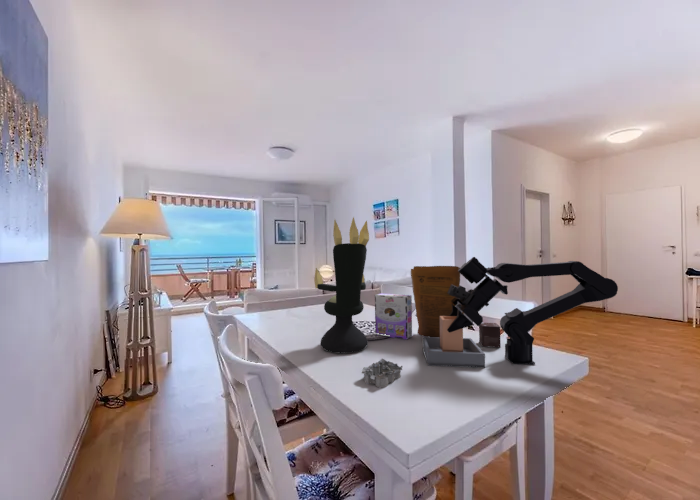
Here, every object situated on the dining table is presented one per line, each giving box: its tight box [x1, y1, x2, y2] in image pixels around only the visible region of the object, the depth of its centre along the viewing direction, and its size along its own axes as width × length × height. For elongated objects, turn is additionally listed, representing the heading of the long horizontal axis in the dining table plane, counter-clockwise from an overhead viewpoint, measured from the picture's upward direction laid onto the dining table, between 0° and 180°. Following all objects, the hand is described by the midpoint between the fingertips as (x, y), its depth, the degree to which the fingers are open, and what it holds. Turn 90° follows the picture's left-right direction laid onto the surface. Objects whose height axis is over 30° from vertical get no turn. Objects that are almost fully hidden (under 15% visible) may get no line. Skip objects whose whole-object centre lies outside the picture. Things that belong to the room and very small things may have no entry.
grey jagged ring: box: [361, 358, 403, 388], centre depth 83 cm, size 11×8×4 cm
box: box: [478, 322, 501, 348], centre depth 112 cm, size 6×6×7 cm
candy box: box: [374, 292, 413, 341], centre depth 124 cm, size 14×6×16 cm, turn 58°
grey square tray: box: [422, 336, 486, 369], centre depth 99 cm, size 16×16×4 cm
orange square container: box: [440, 316, 464, 352], centre depth 99 cm, size 6×6×10 cm
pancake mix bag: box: [410, 265, 461, 337], centre depth 122 cm, size 7×19×28 cm, turn 55°
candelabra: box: [313, 216, 370, 354], centre depth 108 cm, size 19×22×45 cm
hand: (446, 328), depth 99 cm, fingers closed on orange square container, 6 cm apart
